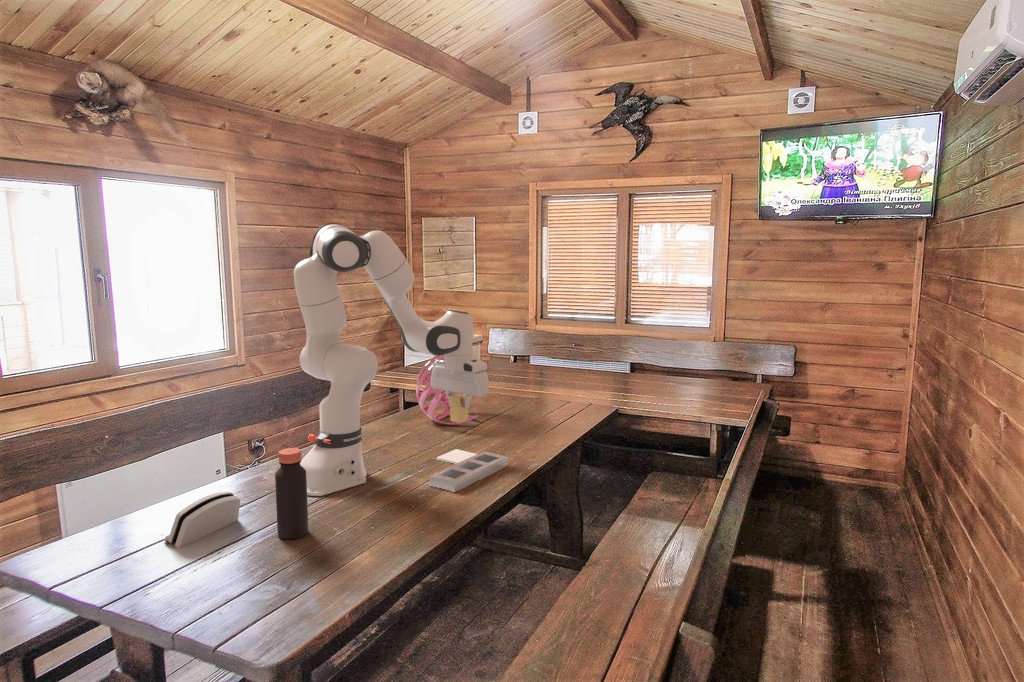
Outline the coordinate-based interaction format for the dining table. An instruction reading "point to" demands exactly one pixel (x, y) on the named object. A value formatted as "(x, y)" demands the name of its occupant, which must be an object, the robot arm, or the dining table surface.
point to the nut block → (458, 408)
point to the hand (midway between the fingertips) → (459, 406)
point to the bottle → (291, 495)
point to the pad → (455, 456)
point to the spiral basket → (439, 396)
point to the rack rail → (468, 471)
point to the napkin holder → (204, 518)
